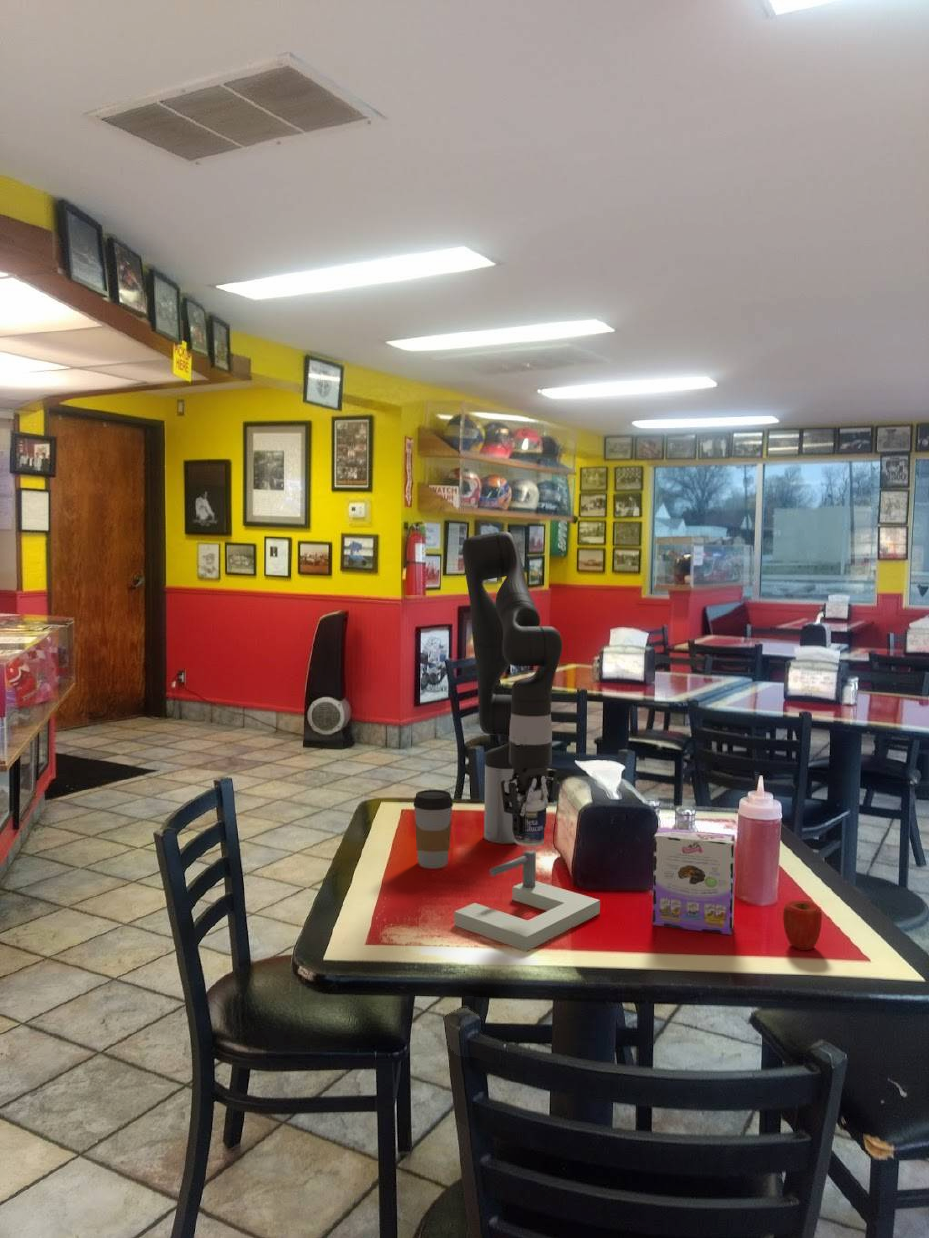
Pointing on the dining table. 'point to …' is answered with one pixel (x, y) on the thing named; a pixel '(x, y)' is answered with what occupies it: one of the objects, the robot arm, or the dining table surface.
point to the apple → (802, 924)
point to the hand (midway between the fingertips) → (529, 831)
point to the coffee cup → (433, 827)
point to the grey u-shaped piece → (558, 903)
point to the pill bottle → (533, 821)
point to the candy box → (694, 880)
